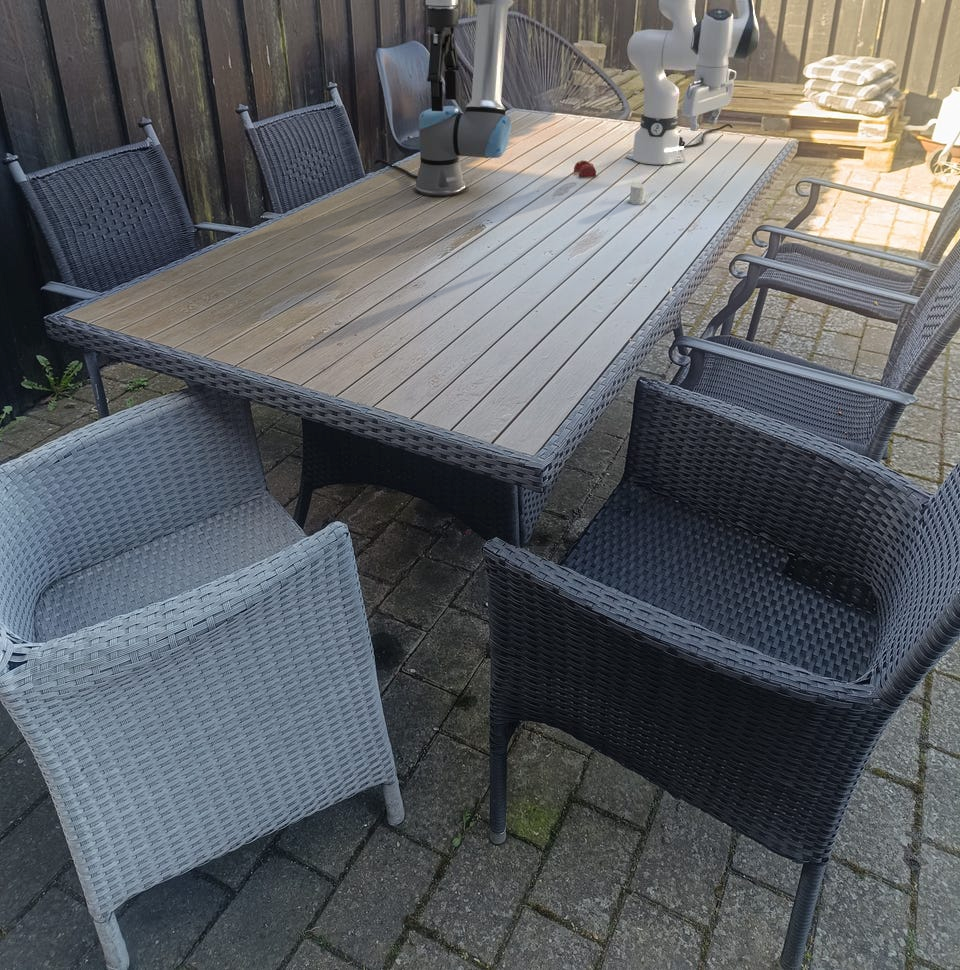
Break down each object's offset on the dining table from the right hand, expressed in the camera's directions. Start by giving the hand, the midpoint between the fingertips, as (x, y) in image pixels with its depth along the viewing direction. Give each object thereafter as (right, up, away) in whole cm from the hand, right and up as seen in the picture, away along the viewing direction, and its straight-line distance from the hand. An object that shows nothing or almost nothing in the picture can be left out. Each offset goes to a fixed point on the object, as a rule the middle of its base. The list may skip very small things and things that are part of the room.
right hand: (703, 127), depth 246 cm
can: (-19, -21, +3) cm, 28 cm away
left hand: (-74, -10, -37) cm, 84 cm away
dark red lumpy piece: (-32, -4, +26) cm, 41 cm away
